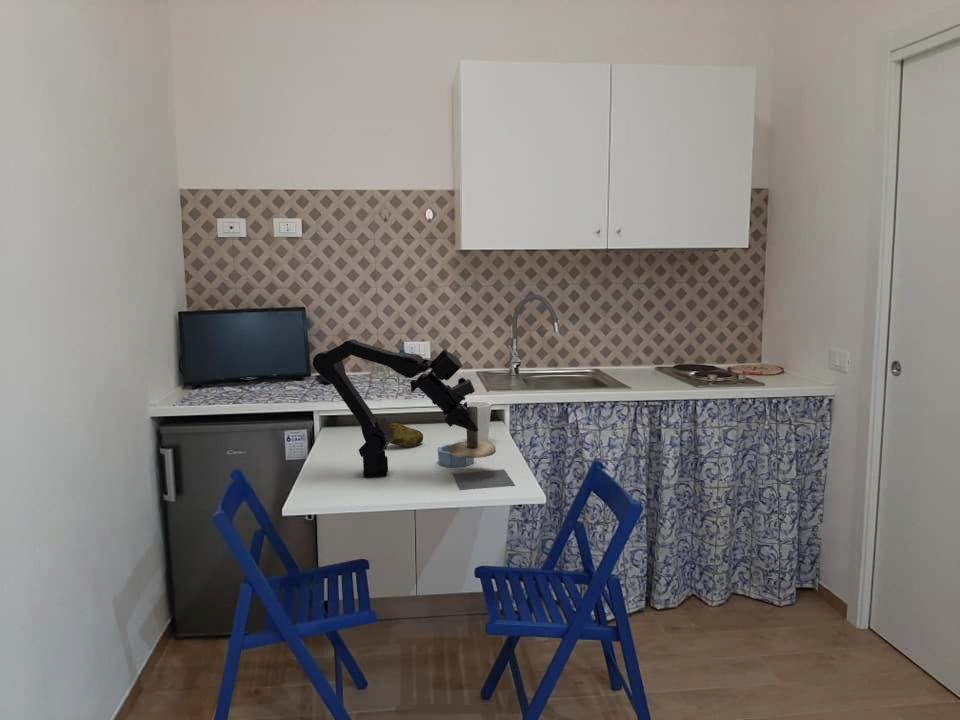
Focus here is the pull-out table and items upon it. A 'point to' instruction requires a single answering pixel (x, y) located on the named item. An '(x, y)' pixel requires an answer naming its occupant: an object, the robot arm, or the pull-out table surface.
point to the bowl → (452, 458)
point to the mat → (482, 479)
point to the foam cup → (482, 419)
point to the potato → (405, 435)
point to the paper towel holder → (472, 442)
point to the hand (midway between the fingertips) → (477, 429)
